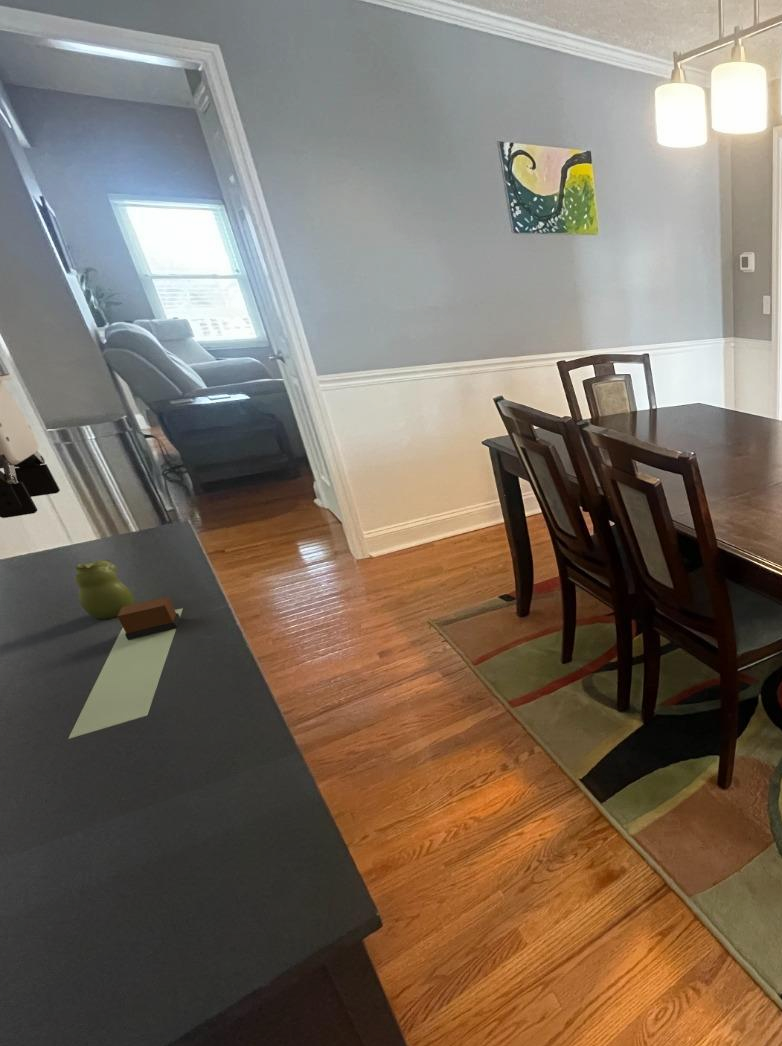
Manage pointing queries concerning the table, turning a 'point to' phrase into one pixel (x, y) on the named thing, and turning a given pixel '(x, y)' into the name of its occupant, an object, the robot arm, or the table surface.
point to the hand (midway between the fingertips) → (32, 504)
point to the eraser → (148, 618)
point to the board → (125, 682)
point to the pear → (101, 589)
